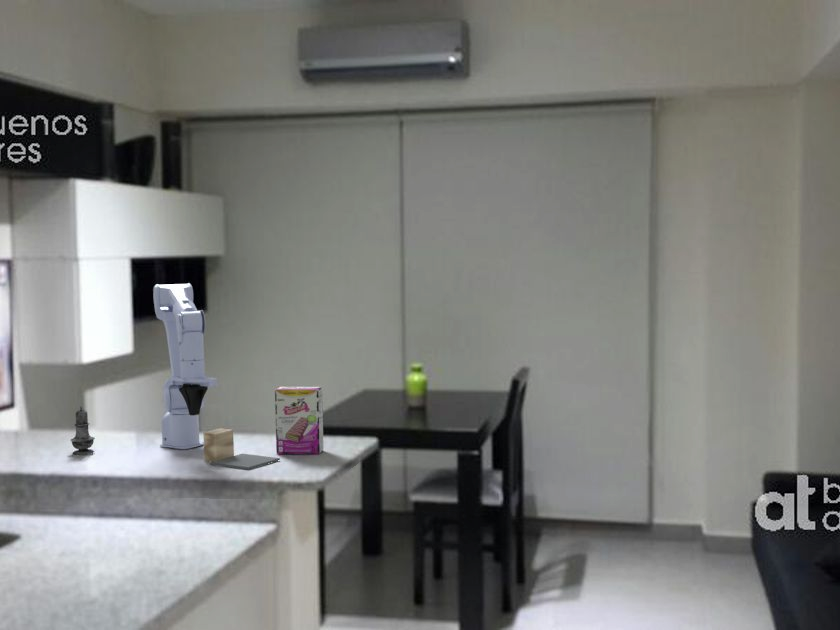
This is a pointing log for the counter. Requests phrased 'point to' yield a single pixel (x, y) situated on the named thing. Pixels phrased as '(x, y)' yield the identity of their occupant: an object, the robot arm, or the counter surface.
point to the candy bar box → (299, 420)
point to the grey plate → (244, 461)
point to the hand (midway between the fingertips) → (194, 414)
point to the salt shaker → (82, 434)
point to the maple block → (218, 444)
